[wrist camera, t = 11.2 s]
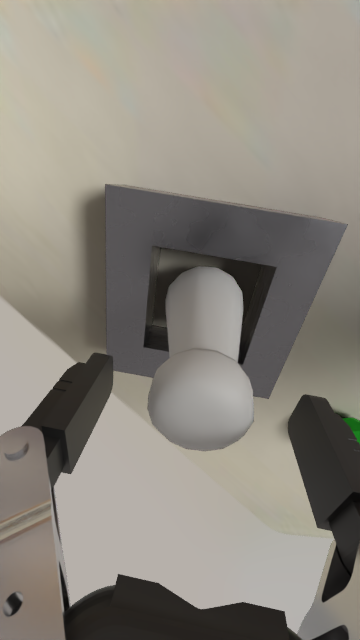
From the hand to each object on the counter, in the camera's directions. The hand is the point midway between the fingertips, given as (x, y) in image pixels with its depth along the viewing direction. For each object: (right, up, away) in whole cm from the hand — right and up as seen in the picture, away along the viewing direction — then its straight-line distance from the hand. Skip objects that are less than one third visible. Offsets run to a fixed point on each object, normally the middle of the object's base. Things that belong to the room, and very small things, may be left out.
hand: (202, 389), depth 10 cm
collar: (+1, +5, +10) cm, 11 cm away
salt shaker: (+1, +5, +10) cm, 12 cm away
